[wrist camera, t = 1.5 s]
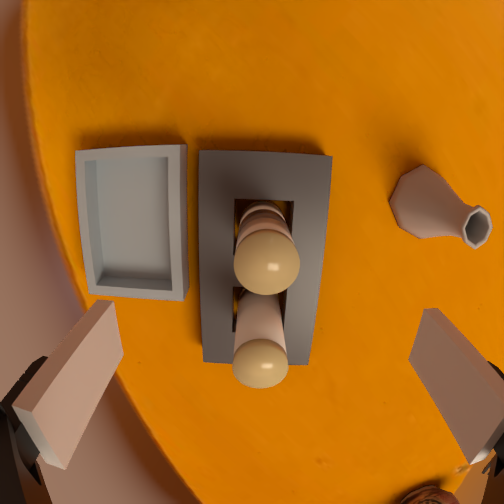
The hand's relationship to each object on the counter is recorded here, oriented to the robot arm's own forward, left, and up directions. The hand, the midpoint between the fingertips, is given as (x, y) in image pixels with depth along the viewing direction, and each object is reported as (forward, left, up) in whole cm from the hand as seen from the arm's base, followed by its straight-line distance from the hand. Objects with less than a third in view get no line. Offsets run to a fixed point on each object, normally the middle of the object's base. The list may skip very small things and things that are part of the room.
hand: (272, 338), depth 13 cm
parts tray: (0, -12, -18) cm, 22 cm away
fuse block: (+4, 0, -18) cm, 19 cm away
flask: (-3, +16, -19) cm, 25 cm away
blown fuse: (0, 0, -18) cm, 18 cm away
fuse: (+8, 0, -18) cm, 20 cm away
